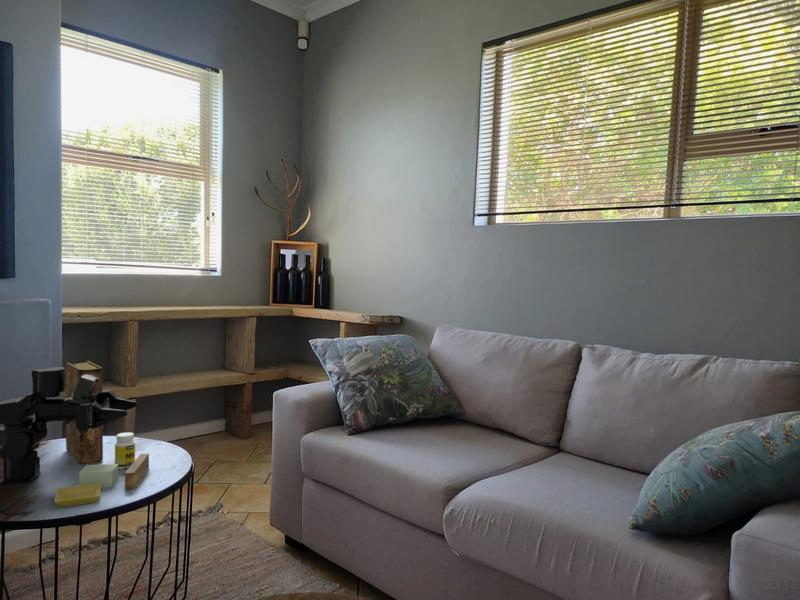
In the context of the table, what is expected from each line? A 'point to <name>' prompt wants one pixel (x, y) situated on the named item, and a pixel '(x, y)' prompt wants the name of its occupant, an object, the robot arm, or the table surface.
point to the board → (136, 471)
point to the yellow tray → (77, 494)
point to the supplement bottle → (125, 450)
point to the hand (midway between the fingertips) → (132, 408)
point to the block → (99, 475)
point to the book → (90, 442)
